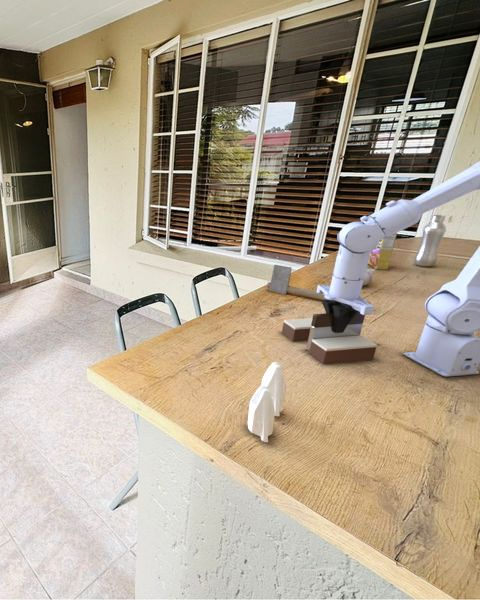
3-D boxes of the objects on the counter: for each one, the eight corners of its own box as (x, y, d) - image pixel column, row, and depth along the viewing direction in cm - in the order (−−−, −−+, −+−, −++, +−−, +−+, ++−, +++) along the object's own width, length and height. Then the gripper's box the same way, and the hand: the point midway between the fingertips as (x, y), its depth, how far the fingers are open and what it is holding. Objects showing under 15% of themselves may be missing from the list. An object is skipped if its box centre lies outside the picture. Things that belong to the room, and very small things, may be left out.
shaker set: (262, 399, 70) (270, 350, 66) (285, 407, 67) (295, 357, 63) (242, 432, 62) (249, 380, 58) (267, 443, 59) (277, 389, 55)
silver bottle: (418, 267, 139) (434, 217, 132) (409, 263, 145) (423, 214, 138) (438, 268, 138) (455, 216, 130) (428, 263, 144) (444, 214, 136)
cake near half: (373, 359, 81) (377, 344, 79) (323, 364, 80) (326, 348, 79) (356, 349, 85) (360, 335, 84) (309, 353, 85) (312, 339, 83)
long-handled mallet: (368, 312, 104) (265, 290, 126) (370, 310, 106) (267, 288, 127) (377, 282, 101) (269, 264, 122) (379, 281, 102) (271, 263, 123)
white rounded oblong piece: (375, 279, 129) (351, 294, 124) (361, 267, 131) (338, 281, 126) (389, 270, 124) (366, 285, 118) (376, 257, 126) (352, 271, 121)
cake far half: (337, 337, 91) (340, 324, 90) (292, 341, 91) (295, 327, 89) (324, 329, 96) (327, 316, 94) (281, 333, 95) (283, 319, 94)
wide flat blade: (357, 345, 85) (366, 312, 82) (309, 349, 85) (316, 316, 81) (353, 343, 86) (361, 310, 83) (306, 347, 86) (313, 314, 82)
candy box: (366, 263, 148) (375, 227, 143) (378, 264, 147) (388, 227, 141) (374, 269, 140) (384, 231, 135) (387, 269, 139) (398, 231, 134)
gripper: (309, 269, 85) (299, 319, 90) (356, 288, 72) (342, 346, 77) (337, 267, 86) (325, 317, 91) (389, 285, 72) (373, 343, 77)
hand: (335, 330), depth 84 cm, fingers closed on wide flat blade, 1 cm apart
